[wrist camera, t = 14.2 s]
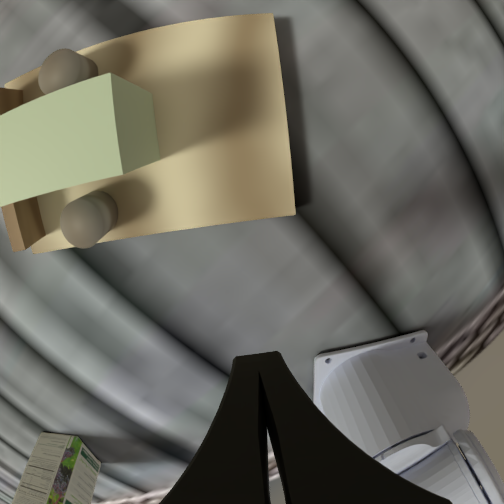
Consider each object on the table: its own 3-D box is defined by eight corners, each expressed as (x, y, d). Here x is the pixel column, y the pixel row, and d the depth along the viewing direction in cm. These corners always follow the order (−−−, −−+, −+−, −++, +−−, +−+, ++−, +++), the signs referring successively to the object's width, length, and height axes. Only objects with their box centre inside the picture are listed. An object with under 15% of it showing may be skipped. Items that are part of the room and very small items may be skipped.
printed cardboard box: (103, 463, 26) (81, 568, 13) (64, 458, 26) (37, 552, 13) (78, 434, 24) (43, 550, 11) (39, 429, 24) (0, 530, 10)
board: (269, 20, 14) (280, -5, 10) (291, 209, 18) (306, 227, 14) (15, 85, 13) (-19, 81, 10) (42, 247, 17) (13, 269, 14)
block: (152, 93, 14) (110, 72, 8) (160, 159, 15) (123, 174, 9) (26, 131, 13) (-44, 140, 8) (35, 189, 15) (-31, 217, 9)
